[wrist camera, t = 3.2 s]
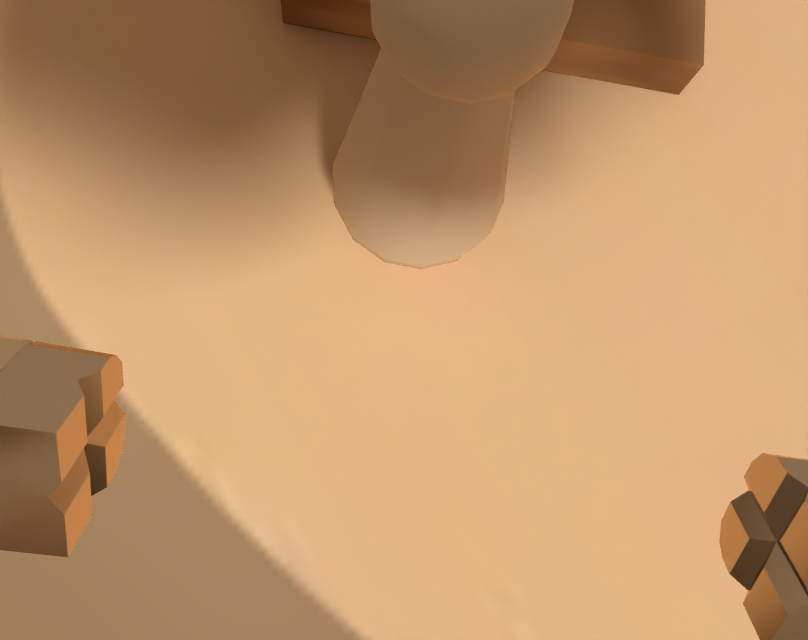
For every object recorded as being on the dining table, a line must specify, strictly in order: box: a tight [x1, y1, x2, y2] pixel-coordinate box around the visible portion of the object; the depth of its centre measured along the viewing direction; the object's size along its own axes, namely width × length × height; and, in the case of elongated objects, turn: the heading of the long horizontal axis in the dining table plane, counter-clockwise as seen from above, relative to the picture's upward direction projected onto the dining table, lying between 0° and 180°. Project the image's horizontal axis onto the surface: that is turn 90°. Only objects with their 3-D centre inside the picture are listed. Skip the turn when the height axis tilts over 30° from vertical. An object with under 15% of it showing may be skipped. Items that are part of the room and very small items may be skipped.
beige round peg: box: [333, 0, 574, 269], centre depth 20 cm, size 6×6×13 cm
